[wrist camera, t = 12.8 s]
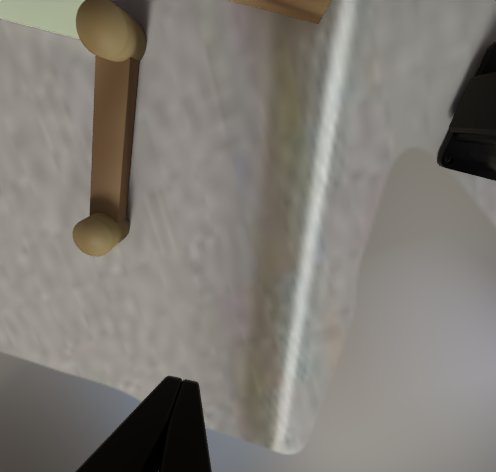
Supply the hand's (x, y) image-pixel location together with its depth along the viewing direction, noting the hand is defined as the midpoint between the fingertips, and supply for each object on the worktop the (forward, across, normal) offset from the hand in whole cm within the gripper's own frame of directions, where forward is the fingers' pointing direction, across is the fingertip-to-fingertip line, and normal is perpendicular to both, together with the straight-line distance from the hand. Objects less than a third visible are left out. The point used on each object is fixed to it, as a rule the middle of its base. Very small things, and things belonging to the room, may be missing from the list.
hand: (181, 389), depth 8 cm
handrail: (+13, +8, -4) cm, 16 cm away
